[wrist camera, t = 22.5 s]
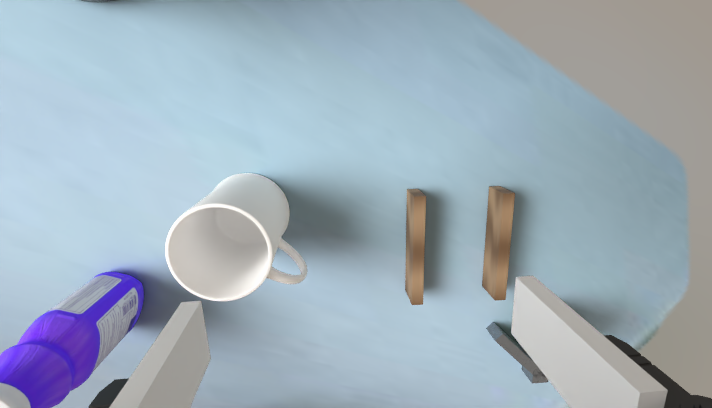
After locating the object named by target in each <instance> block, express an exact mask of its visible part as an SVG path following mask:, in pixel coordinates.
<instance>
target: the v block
mask: <svg viewBox="0 0 712 408" xmlns="http://www.w3.org/2000/svg"><path fill="white" fill-rule="evenodd" d="M486 329H487V330H488V331H489V333H490V334H491V336H492V337H493V338H494V340H495V341H496V342H497V343H498V344H499V345H500V346H502V347H503V348H504V349H505V350H506V351H507V352H508V353H509V354H510V355H511V356H513V357H514V358H515V359H516V360H517V361H518V362H519V363H520V364H521V365H522V370H523V372H524V373H525V374H526V376H527V377H528V378H529V380H530V381H531V382H532V383H543V382H548V379H547V377H546V376H545V375H544V374H543V372H542V371H541V370H540V369H539V367H538V366H537V365H536V364H535V362H534V361H533V360H532V359H531V357H530V356H529V355H528V354H527V352H526V351H524V350H523V349H522V348H521V347H520V346H519V345H518V344H517V343H516V342H515V341H514V340H513V339H512V338H510V337H509V336H508V335H507V334H506V333H505V332H504V331H503V330H502V329H501V328H500V327H499V326H497V325H496V324H495V323H494V322H493V323H492V324H491V325H490V326H489V327H487V328H486Z"/></svg>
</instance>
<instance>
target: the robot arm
mask: <svg viewBox="0 0 712 408" xmlns="http://www.w3.org/2000/svg"><path fill="white" fill-rule="evenodd" d="M83 1H92V2H103V1H111V0H83ZM511 334H512V335H513V336H514V337H515V339H516V340H517V341H518V342H519V344H520V345H521V346H522V347H523V349H524V350H525V351H526V352H527V354H528V355H529V356H530V357H531V359H532V360H533V361H534V362H535V364H536V365H537V366H538V367H539V369H540V370H541V371H542V372H543V374H544V375H545V376H546V377H547V379H548V380H549V381H550V382H551V384H552V385H553V386H554V387H555V389H556V390H557V391H558V392H559V394H560V395H561V396H562V398H563V399H564V400H565V401H566V403H567V404H568V405H569V406H570V408H712V399H711V398H708V397H703V396H699V395H690V394H689V393H688V392H687V391H685V390H684V389H683V388H682V387H680V386H679V385H678V384H677V383H676V382H674V381H673V380H672V379H671V378H669V377H668V376H667V375H666V374H664V373H663V372H662V371H661V370H660V369H658V368H657V367H656V366H655V365H652V364H651V362H650V361H648V360H647V359H646V358H645V357H643V356H641V354H640V353H639V352H637V351H636V350H635V349H634V348H632V347H631V346H630V345H629V344H627V343H625V342H623V341H621V340H620V339H618V338H616V337H614V336H612V335H606V336H603V335H602V334H601V333H600V332H599V331H598V330H596V329H595V328H594V327H593V326H592V325H590V324H589V323H588V322H587V321H586V320H585V319H583V318H582V317H581V316H580V315H579V314H578V313H576V312H575V311H574V310H573V309H572V308H571V307H569V306H568V305H567V304H566V303H565V302H563V301H562V300H561V299H560V298H559V297H558V296H556V295H555V294H554V293H553V292H552V291H551V290H549V289H548V288H547V287H546V286H545V285H543V284H542V283H541V282H540V281H539V280H538V279H536V278H535V277H534V276H522V277H516V281H515V293H514V304H513V316H512V328H511ZM210 360H211V357H210V351H209V345H208V339H207V333H206V327H205V321H204V315H203V309H202V303H201V301H189V302H181V304H180V305H179V307H178V308H177V309H176V311H175V312H174V314H173V315H172V317H171V318H170V320H169V321H168V323H167V324H166V326H165V327H164V328H163V330H162V331H161V333H160V334H159V336H158V337H157V339H156V340H155V342H154V343H153V345H152V346H151V347H150V349H149V350H148V352H147V353H146V355H145V356H144V358H143V359H142V361H141V362H140V363H139V365H138V366H137V368H136V369H135V371H134V372H133V374H132V375H131V377H130V378H129V379H118V380H114V381H113V382H112V383H110V384H109V385H108V386H107V387H105V388H104V389H103V390H102V391H100V392H99V393H98V395H97V396H96V397H95V399H94V400H93V401H92V403H91V404H90V405H89V408H190V407H191V404H192V402H193V399H194V397H195V395H196V392H197V390H198V388H199V385H200V383H201V381H202V378H203V376H204V374H205V371H206V369H207V367H208V364H209V362H210Z"/></svg>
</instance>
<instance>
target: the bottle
mask: <svg viewBox="0 0 712 408" xmlns="http://www.w3.org/2000/svg"><path fill="white" fill-rule="evenodd" d="M143 301H144V290H143V286H142V283H141V282H140V281H139V280H137V279H136V278H134V277H132V276H130V275H126V274H122V273H118V272H105V273H101V274H99V275H97V276H95V277H94V278H93V279H91V280H90V281H89V282H87V283H86V284H84V285H83V286H82V287H80V288H79V289H78V290H76V291H75V292H73V293H72V294H71V295H69V296H68V297H66V298H65V299H64V300H62V301H61V302H60V303H58V304H57V305H56V306H54V307H53V308H52V309H50V310H49V311H48V312H46V313H45V314H43V315H42V316H40V317H39V318H38V319H36V320H35V321H34V322H33V323H32V324H31V325H30V327H29V328H28V329H27V330H26V332H25V333H24V334H23V336H22V337H21V339H20V340H19V342H18V344H17V345H15V346H13V347H10V348H9V349H7V350H5V351H4V352H3V353H2V354H1V355H0V408H51V407H53V406H55V405H57V404H59V403H60V402H61V401H62V400H63V399H64V398H65V397H66V396H67V395H68V393H69V392H70V391H71V390H73V389H75V388H77V387H78V386H80V385H81V384H82V383H84V382H85V381H86V380H87V379H88V378H89V377H90V375H91V374H92V372H93V371H94V370H95V369H96V368H97V367H98V366H99V364H100V363H101V362H102V361H103V360H104V359H105V358H106V357H107V356H108V354H109V353H110V352H111V351H112V350H113V349H114V348H115V346H116V345H117V344H118V343H119V342H120V341H121V340H122V339H123V338H124V337H125V335H126V334H127V333H128V332H129V331H130V330H131V329H132V328H133V327H134V325H135V323H136V322H137V320H138V318H139V315H140V313H141V310H142V306H143Z"/></svg>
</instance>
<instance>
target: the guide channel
mask: <svg viewBox="0 0 712 408" xmlns="http://www.w3.org/2000/svg"><path fill="white" fill-rule="evenodd" d="M514 198H515V193H514V192H511V191H509V190H507V189H505V188H503V187H501V186H489V197H488V211H487V225H486V239H485V253H484V267H483V281H482V286H483V287H484V289H485V290H486V291H487V292H488V293H489V294H490V295H491V297H492V298H493V299H494V300H505V299H506V288H507V277H508V266H509V254H510V243H511V232H512V221H513V210H514ZM425 215H426V196H425V195H424V194H423V193H422V192H421V191H420V190H419V189H407V220H406V281H405V290H406V292H407V295H408V297H409V299H410V302H411V304H412V305H421V304H423V283H424V249H425Z"/></svg>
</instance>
